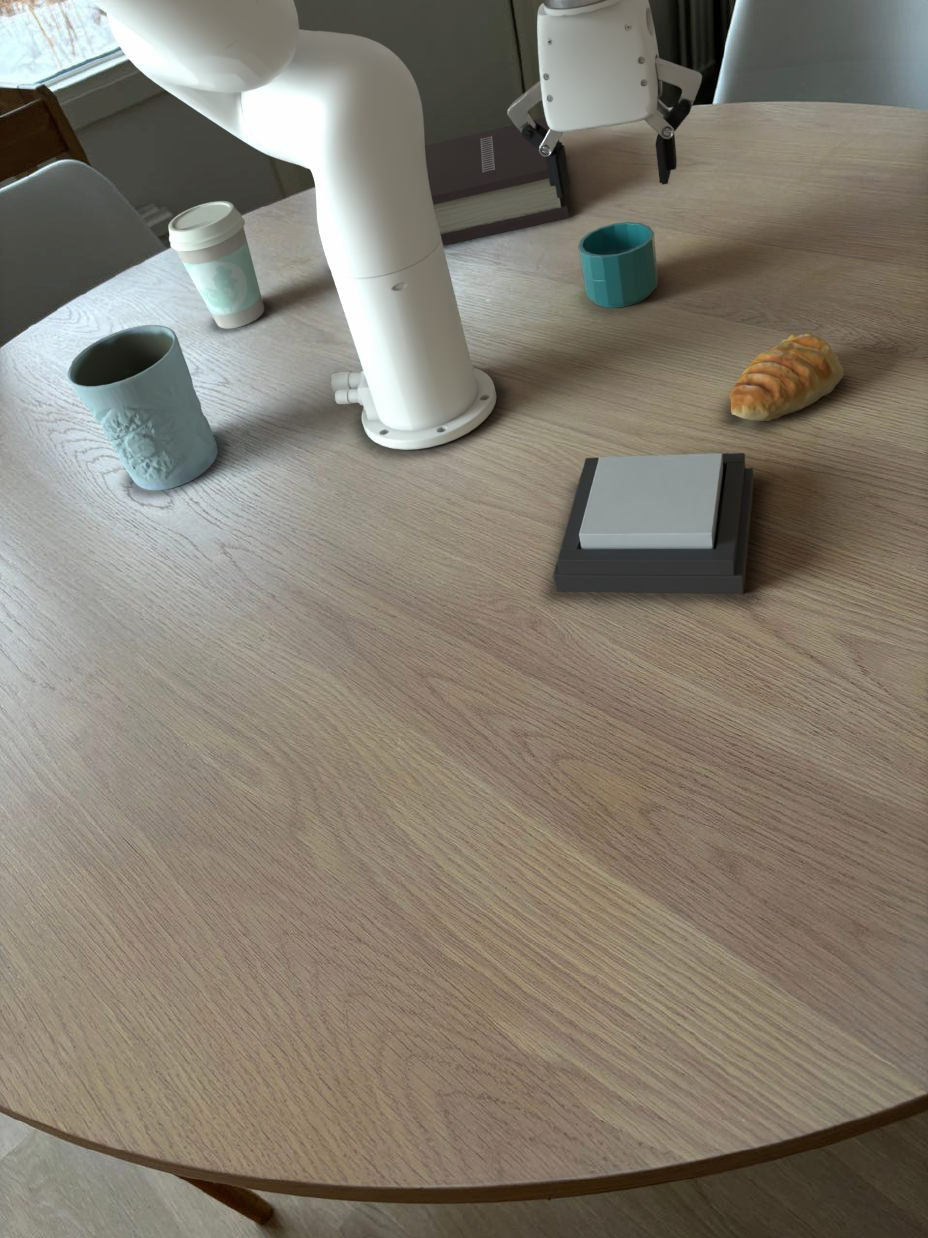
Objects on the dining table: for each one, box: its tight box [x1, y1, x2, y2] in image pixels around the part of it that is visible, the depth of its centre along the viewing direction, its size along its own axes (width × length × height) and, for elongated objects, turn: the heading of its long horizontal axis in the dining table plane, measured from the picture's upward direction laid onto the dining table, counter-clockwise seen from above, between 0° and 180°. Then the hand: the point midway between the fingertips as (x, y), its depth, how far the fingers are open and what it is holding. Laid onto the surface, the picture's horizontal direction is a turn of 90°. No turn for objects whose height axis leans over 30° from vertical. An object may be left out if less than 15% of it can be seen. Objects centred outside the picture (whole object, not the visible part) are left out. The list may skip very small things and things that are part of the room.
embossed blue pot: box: [66, 324, 219, 491], centre depth 93 cm, size 10×10×12 cm
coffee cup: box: [168, 200, 265, 330], centre depth 114 cm, size 8×8×12 cm
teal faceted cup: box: [578, 221, 659, 309], centre depth 100 cm, size 7×7×6 cm
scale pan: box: [579, 452, 723, 549], centre depth 72 cm, size 9×9×2 cm
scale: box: [552, 452, 754, 595], centre depth 73 cm, size 13×12×3 cm
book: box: [425, 116, 570, 246], centre depth 125 cm, size 28×20×6 cm
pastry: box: [729, 333, 845, 422], centre depth 82 cm, size 9×7×4 cm
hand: (614, 184), depth 95 cm, fingers open, 9 cm apart
